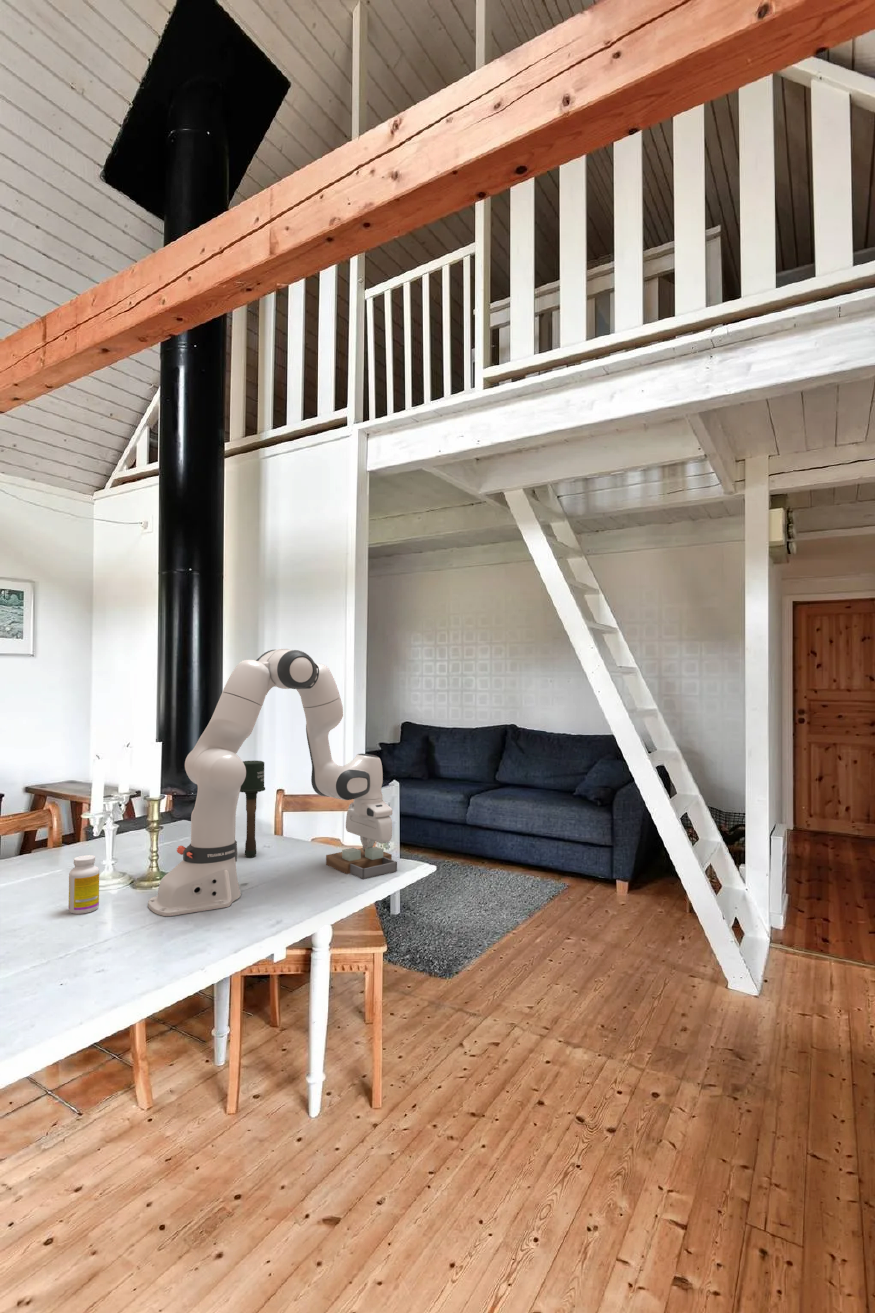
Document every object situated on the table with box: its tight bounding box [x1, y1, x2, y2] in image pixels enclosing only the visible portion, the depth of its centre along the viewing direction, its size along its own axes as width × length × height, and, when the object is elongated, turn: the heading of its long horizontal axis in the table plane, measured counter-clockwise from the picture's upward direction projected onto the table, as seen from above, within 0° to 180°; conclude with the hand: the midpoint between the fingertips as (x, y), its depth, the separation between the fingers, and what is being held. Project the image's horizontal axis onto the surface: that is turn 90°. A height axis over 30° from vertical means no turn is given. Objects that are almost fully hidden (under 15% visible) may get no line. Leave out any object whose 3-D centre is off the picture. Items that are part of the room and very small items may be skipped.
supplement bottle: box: [68, 854, 100, 915], centre depth 164 cm, size 7×7×13 cm
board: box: [325, 847, 393, 875], centre depth 204 cm, size 16×12×3 cm
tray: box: [349, 857, 398, 880], centre depth 196 cm, size 12×7×3 cm, turn 130°
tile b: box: [365, 846, 384, 860], centre depth 201 cm, size 4×4×2 cm
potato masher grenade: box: [240, 760, 266, 859], centre depth 212 cm, size 8×9×30 cm
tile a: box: [341, 847, 361, 861], centre depth 200 cm, size 4×4×2 cm
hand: (367, 851), depth 204 cm, fingers closed
